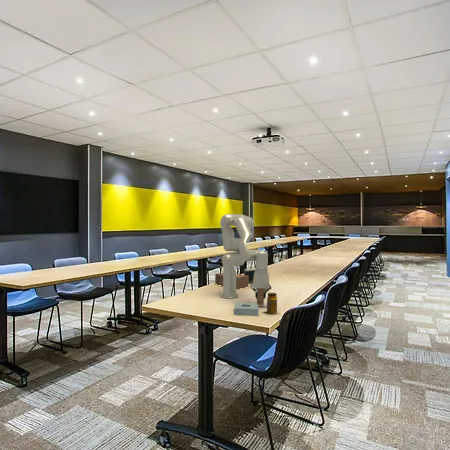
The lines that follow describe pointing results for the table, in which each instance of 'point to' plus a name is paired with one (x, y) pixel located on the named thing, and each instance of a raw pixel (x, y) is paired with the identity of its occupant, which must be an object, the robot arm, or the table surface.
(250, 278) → the radio
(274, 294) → the condiment
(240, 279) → the tissue box cover
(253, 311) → the socket block
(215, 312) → the table surface
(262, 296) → the peg
